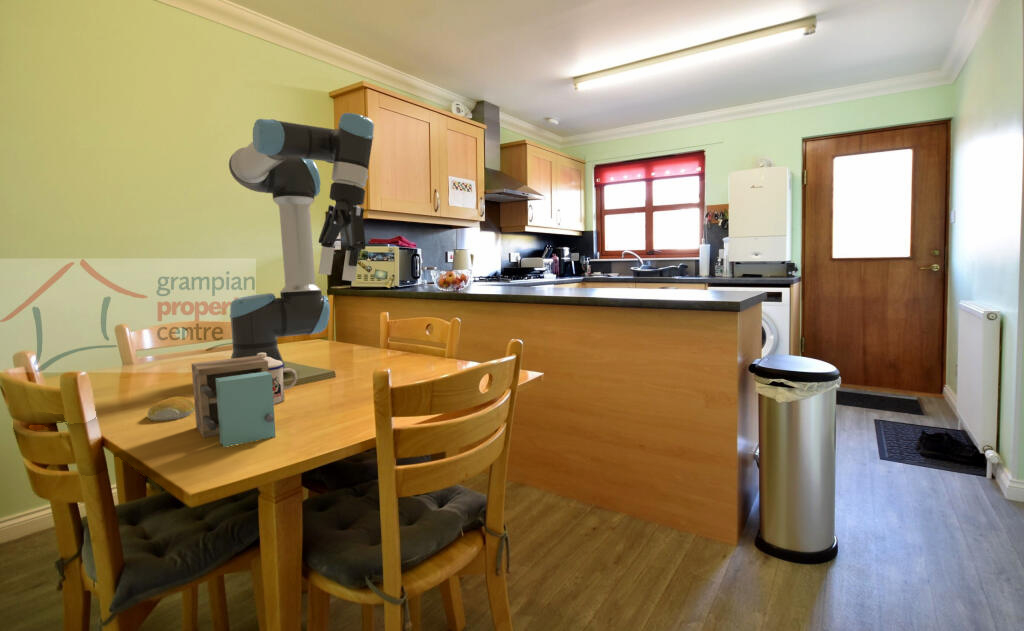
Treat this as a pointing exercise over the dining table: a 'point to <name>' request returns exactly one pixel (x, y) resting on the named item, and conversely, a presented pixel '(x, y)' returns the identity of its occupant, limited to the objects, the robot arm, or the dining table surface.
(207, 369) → the cabinet
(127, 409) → the dining table surface
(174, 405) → the bread roll
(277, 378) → the teacup with lid
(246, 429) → the door
